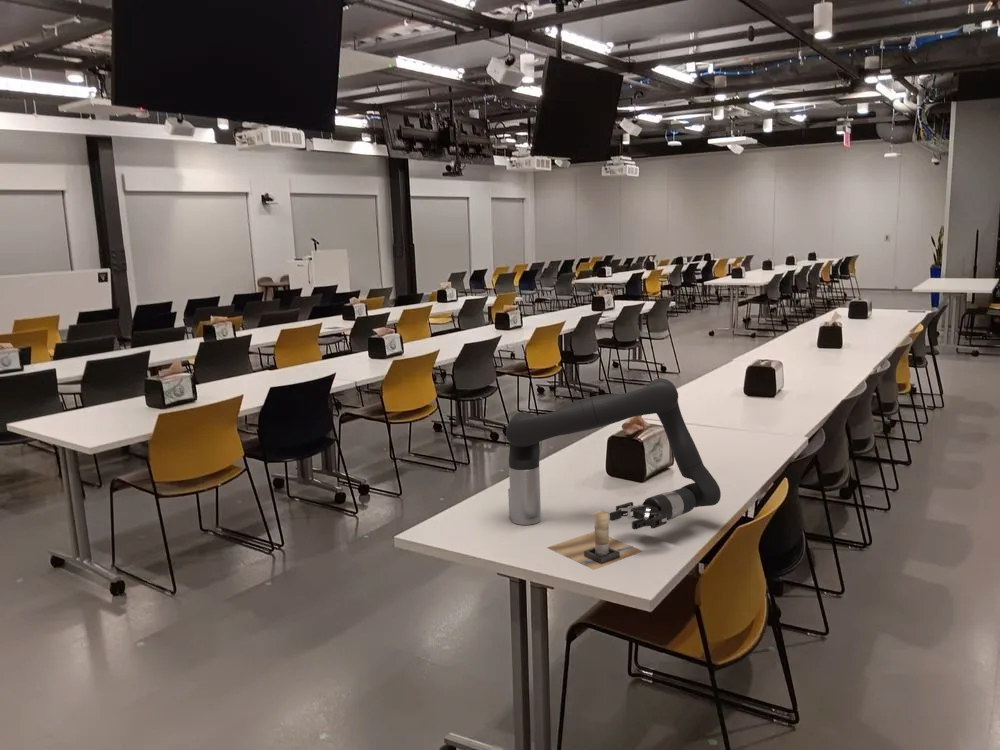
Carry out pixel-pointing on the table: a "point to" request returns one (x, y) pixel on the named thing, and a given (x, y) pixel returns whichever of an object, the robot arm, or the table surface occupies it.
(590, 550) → the pilot collar
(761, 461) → the table surface
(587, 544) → the board
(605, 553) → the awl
